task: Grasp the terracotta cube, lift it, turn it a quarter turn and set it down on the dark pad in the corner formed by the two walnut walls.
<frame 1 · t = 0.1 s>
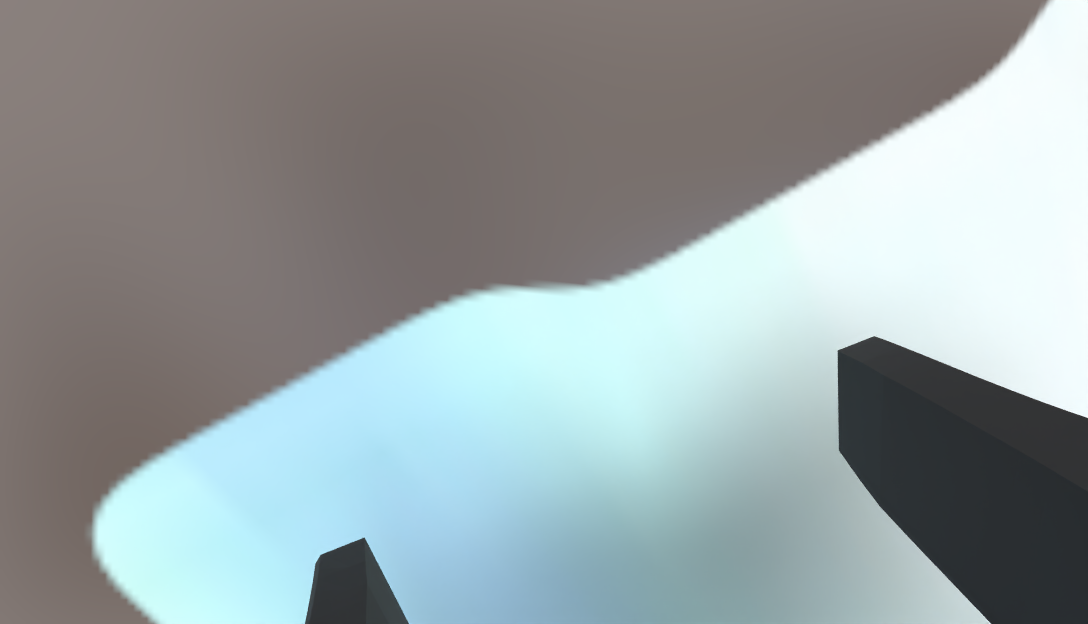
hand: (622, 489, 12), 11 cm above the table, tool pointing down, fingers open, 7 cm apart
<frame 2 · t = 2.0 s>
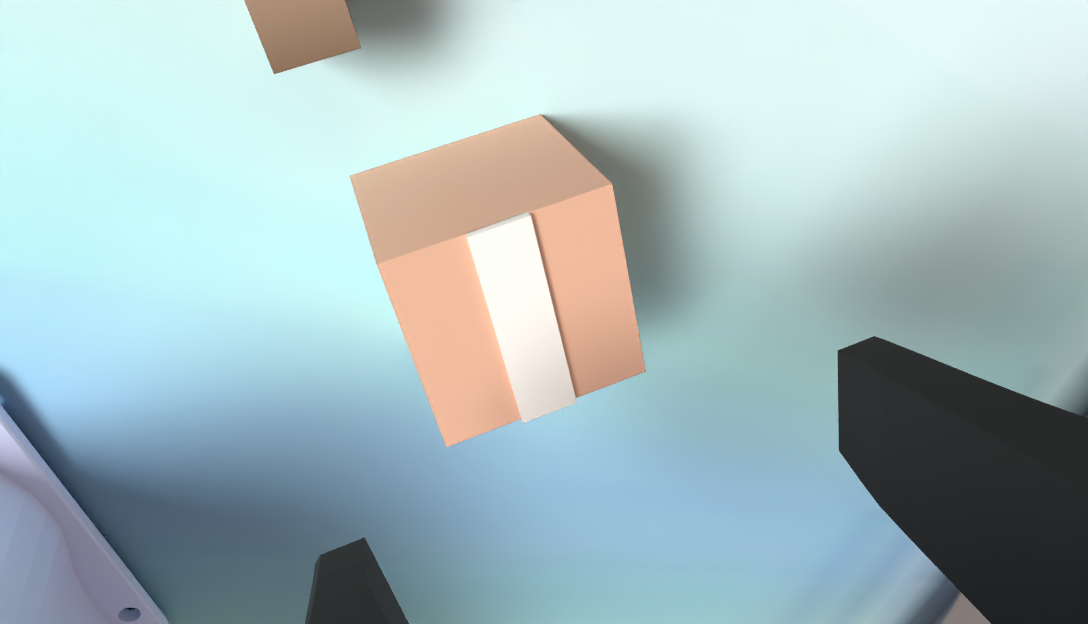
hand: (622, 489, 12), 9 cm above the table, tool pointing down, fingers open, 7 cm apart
terracotta cube: (471, 229, 20), on the table
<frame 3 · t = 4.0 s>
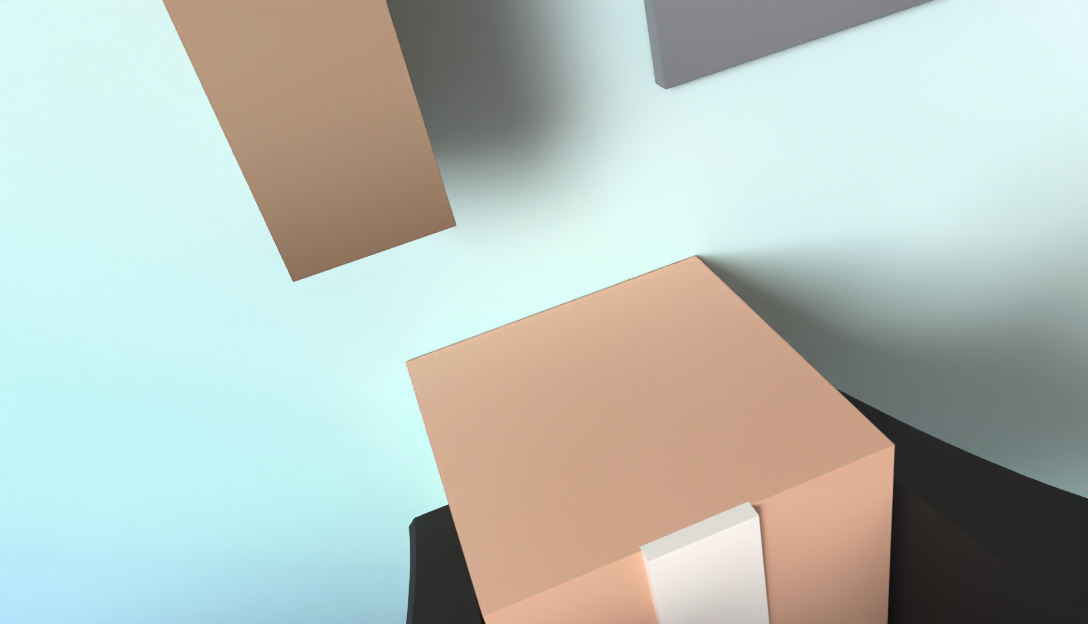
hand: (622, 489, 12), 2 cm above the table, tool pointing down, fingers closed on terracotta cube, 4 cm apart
terracotta cube: (583, 421, 13), on the table, touching gripper
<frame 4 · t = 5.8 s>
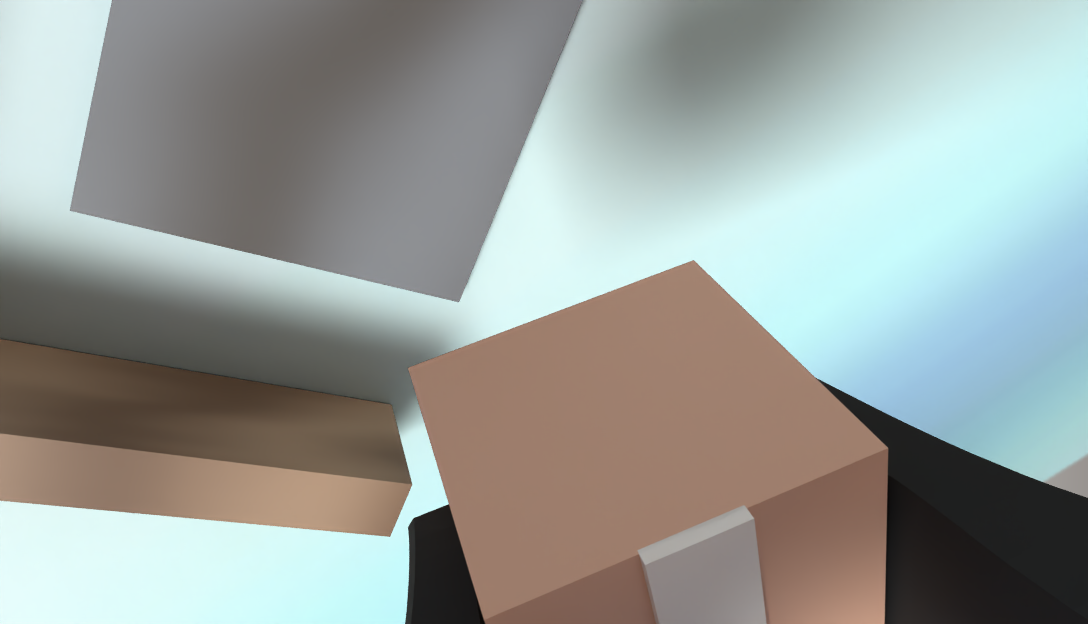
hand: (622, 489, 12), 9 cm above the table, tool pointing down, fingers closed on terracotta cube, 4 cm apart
corner arena: (339, 76, 16), on the table
terracotta cube: (584, 424, 13), point 7 cm above the table, touching gripper
when the fingers open (3 cm above the table, at t = 7.9 s): terracotta cube drops 1 cm, resting on corner arena.
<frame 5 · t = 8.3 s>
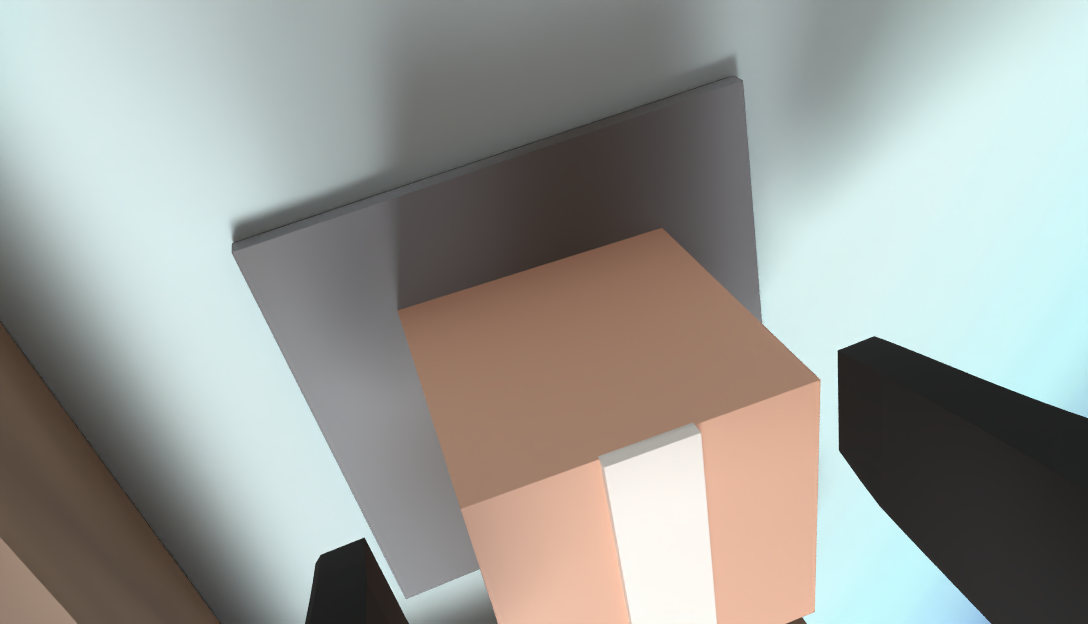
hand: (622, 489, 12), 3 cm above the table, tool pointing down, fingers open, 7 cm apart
corner arena: (549, 361, 14), on the table
terracotta cube: (555, 376, 14), resting on corner arena
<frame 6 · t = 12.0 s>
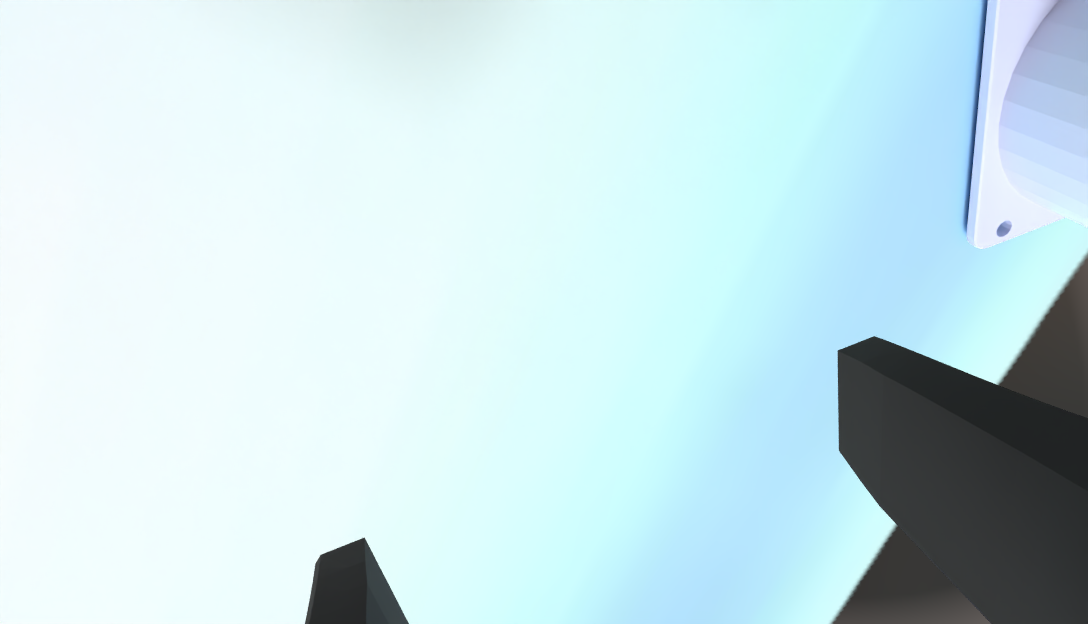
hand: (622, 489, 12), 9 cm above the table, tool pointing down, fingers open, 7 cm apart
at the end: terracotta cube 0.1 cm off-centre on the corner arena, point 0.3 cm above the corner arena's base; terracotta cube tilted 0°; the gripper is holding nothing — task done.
